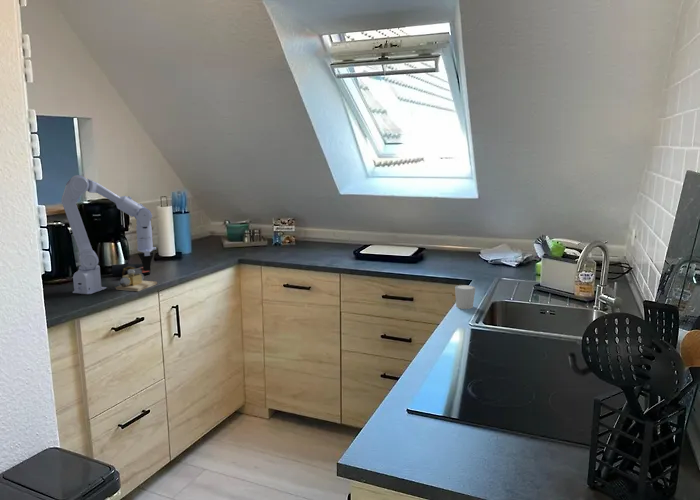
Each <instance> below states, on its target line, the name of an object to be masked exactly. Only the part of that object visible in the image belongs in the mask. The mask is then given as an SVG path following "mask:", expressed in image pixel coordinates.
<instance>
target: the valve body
mask: <svg viewBox="0 0 700 500" xmlns="http://www.w3.org/2000/svg"><path fill="white" fill-rule="evenodd" d="M121 277H122V278H120V280H119V284H120V285H121V286H123V287H126V286H134V285H137V284H140V283H142V281H145V280H144V279H145V275H143V274H142V273H138V274H136V275H124V276H121Z"/></svg>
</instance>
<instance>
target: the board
mask: <svg viewBox="0 0 700 500" xmlns="http://www.w3.org/2000/svg"><path fill="white" fill-rule="evenodd" d="M156 285H158V281H153V280H143V281H142V283H140V284H137V285H134V286H126V287H123V286H121V284H120V285H118V286H117V285H116V286H115V290H117V291H127V292H128V291H130V292H140V291H142V290H145V289H148V288H151V287H154V286H156Z"/></svg>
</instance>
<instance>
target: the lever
mask: <svg viewBox="0 0 700 500" xmlns="http://www.w3.org/2000/svg"><path fill="white" fill-rule="evenodd" d="M145 272H149V271H144V269H143V267H139V268H136V269H129V270H128V275H136V274H138V273H145Z"/></svg>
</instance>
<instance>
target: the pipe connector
mask: <svg viewBox="0 0 700 500" xmlns="http://www.w3.org/2000/svg"><path fill="white" fill-rule="evenodd" d="M139 267H143V265H142V263H129V264H127V263H126V264H125V263H124V264H112V265H111V274H112V277H122V276H124V275H128V270H129V269H136V268H139ZM151 273H152V272H151V268H150V271H149V272H145V273H142V274H143V275H144V276H146V275H147V276H148V275H151Z"/></svg>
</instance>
